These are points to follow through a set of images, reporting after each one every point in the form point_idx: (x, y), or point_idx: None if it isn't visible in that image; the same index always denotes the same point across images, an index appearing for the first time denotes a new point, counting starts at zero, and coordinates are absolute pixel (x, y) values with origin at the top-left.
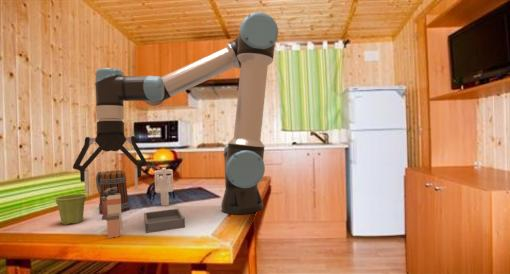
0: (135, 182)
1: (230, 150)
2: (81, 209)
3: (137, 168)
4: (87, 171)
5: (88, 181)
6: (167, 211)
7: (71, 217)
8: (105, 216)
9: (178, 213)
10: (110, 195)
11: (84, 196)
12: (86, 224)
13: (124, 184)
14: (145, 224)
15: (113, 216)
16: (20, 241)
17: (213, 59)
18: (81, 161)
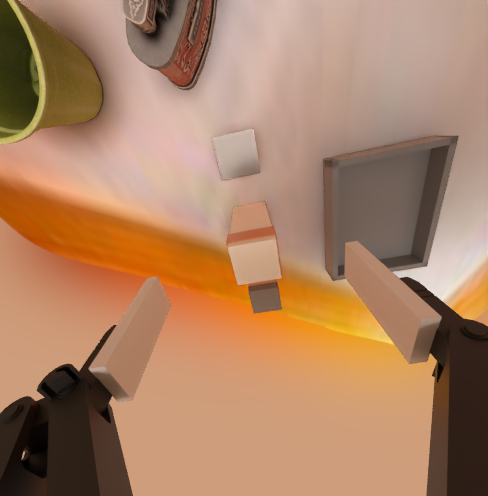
0: (361, 296)
1: None
2: (77, 88)
3: (428, 346)
4: (130, 391)
5: (143, 319)
6: (411, 151)
7: (74, 122)
8: (182, 85)
9: (435, 190)
10: (237, 246)
11: (45, 75)
12: (145, 140)
13: None
14: (329, 248)
15: (269, 310)
16: (66, 249)
17: None
18: (11, 458)
